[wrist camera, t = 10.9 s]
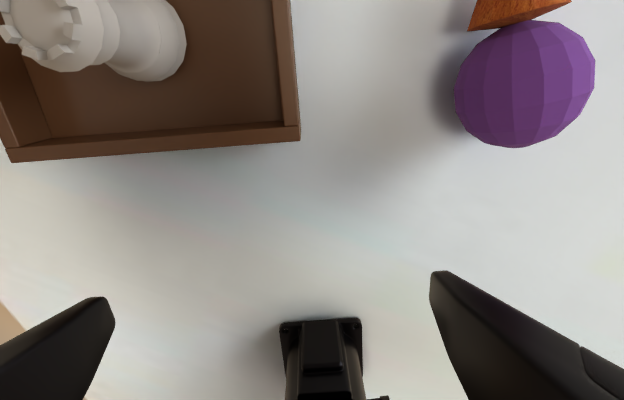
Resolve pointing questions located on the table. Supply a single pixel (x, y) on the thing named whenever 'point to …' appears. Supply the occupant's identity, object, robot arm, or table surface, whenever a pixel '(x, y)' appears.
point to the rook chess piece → (98, 35)
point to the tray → (162, 92)
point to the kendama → (522, 74)
